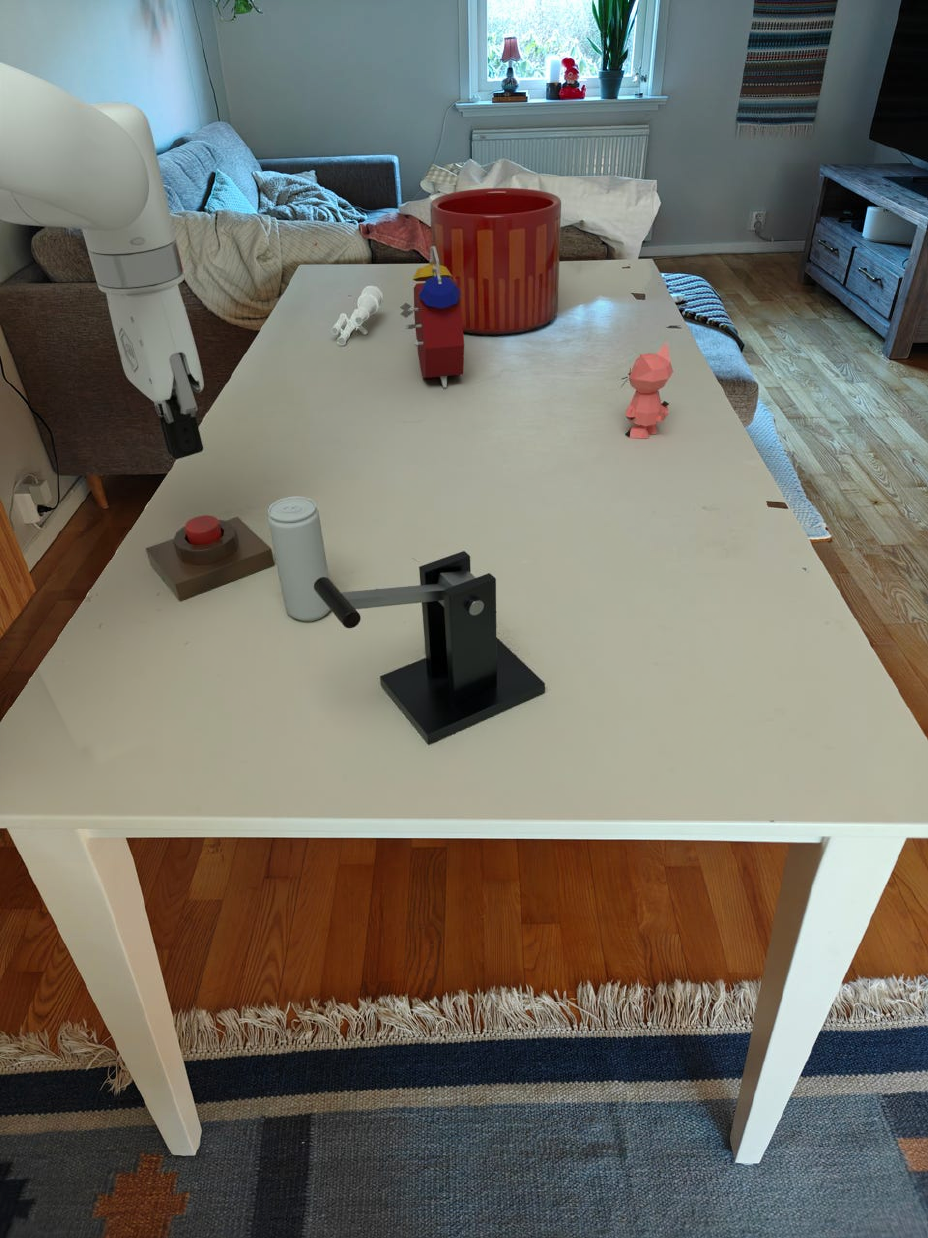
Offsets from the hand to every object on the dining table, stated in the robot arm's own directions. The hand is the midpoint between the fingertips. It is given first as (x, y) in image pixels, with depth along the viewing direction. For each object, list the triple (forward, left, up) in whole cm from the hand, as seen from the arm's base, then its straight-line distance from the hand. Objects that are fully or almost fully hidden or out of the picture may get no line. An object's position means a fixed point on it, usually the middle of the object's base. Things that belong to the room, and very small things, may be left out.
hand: (186, 452), depth 87 cm
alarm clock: (+4, +58, -14) cm, 60 cm away
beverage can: (+14, -5, -14) cm, 21 cm away
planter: (+5, +89, -14) cm, 90 cm away
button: (0, 0, -10) cm, 10 cm away
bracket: (+33, -12, -14) cm, 38 cm away
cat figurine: (+40, +46, -14) cm, 63 cm away
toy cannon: (-17, +75, -14) cm, 78 cm away
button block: (0, 0, -14) cm, 14 cm away
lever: (+30, -16, -2) cm, 34 cm away
